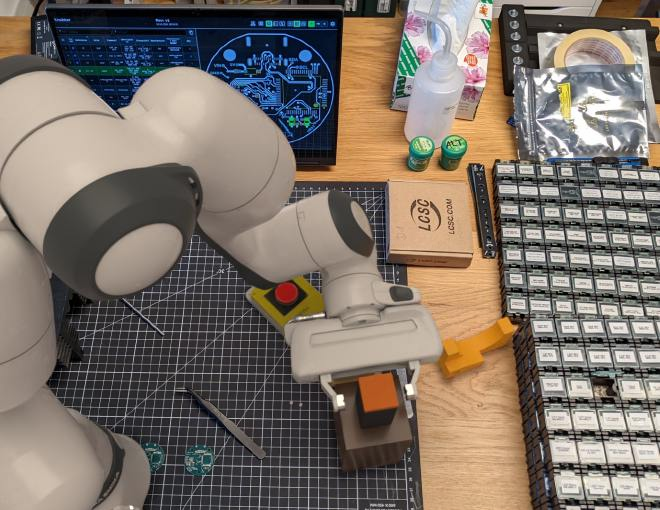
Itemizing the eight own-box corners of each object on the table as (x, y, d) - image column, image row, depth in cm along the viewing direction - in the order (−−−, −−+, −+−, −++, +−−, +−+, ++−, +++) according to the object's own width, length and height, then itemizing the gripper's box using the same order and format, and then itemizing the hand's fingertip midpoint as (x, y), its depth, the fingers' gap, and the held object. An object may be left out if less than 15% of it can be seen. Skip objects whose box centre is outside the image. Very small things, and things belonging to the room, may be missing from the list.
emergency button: (281, 251, 109) (341, 308, 104) (282, 263, 113) (340, 318, 107) (240, 284, 106) (300, 344, 100) (243, 295, 109) (301, 354, 104)
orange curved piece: (446, 378, 102) (453, 365, 97) (434, 355, 104) (441, 341, 99) (509, 354, 105) (520, 340, 99) (497, 331, 107) (507, 316, 101)
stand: (342, 472, 95) (345, 450, 81) (332, 414, 99) (334, 384, 85) (399, 463, 96) (413, 439, 82) (387, 406, 100) (398, 374, 86)
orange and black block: (360, 429, 82) (364, 411, 74) (354, 398, 84) (358, 377, 77) (391, 424, 83) (398, 405, 75) (385, 393, 85) (391, 372, 77)
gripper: (280, 308, 82) (294, 410, 75) (430, 286, 84) (457, 385, 77) (282, 326, 87) (296, 424, 81) (423, 306, 89) (448, 399, 83)
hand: (376, 404), depth 79 cm, fingers open, 8 cm apart
